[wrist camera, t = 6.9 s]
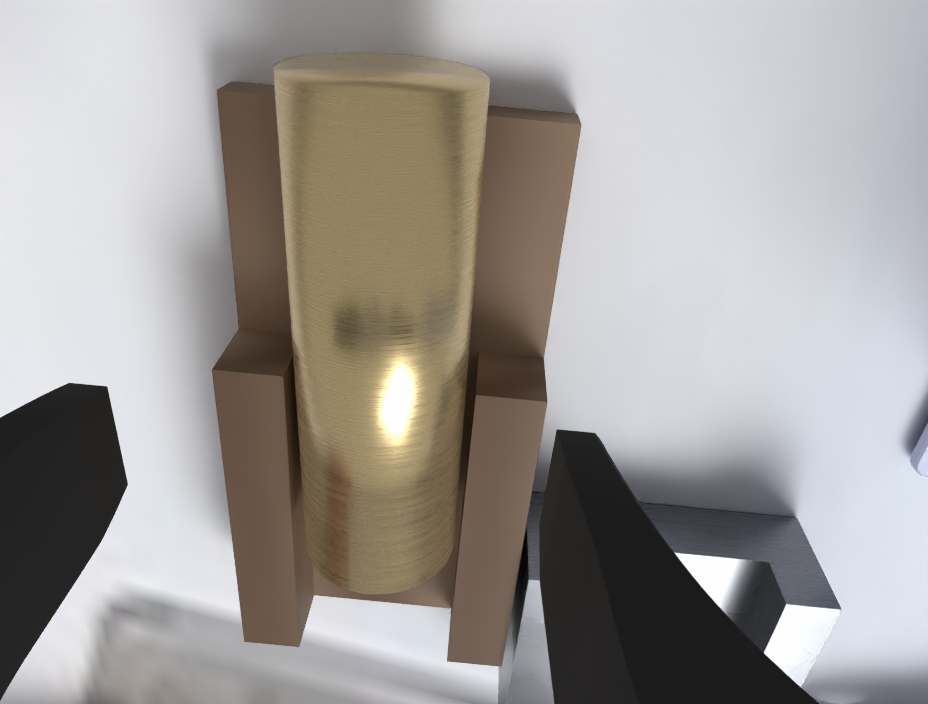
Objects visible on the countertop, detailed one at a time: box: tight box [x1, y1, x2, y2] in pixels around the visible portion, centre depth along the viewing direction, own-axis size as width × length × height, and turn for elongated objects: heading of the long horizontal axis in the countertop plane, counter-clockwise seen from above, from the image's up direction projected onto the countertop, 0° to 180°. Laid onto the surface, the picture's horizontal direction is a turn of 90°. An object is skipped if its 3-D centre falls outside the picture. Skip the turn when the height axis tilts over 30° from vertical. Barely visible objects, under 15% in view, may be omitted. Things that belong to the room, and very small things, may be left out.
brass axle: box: [273, 53, 490, 595], centre depth 17 cm, size 12×4×4 cm, turn 176°
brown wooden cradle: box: [212, 82, 581, 667], centre depth 19 cm, size 8×16×3 cm, turn 175°
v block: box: [498, 492, 842, 704], centre depth 23 cm, size 8×8×4 cm
